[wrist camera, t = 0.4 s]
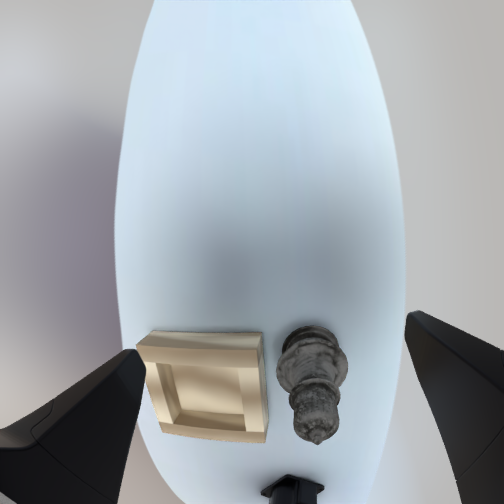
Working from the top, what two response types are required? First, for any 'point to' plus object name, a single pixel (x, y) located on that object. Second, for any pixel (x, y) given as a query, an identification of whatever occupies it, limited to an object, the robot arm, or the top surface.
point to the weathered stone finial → (313, 381)
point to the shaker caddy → (207, 384)
